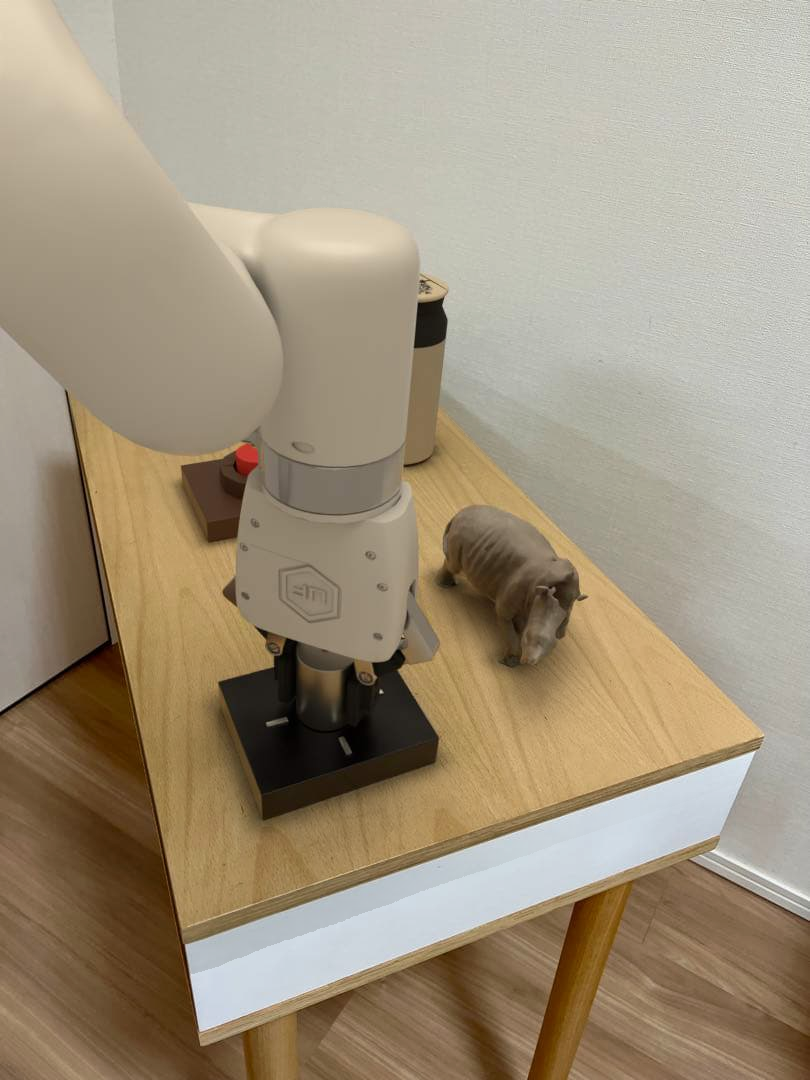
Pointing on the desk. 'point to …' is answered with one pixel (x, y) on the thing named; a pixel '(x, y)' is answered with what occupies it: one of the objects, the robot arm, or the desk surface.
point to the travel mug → (426, 369)
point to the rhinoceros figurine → (512, 578)
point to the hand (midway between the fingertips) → (326, 697)
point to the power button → (246, 459)
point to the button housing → (215, 495)
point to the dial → (322, 687)
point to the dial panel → (321, 743)
